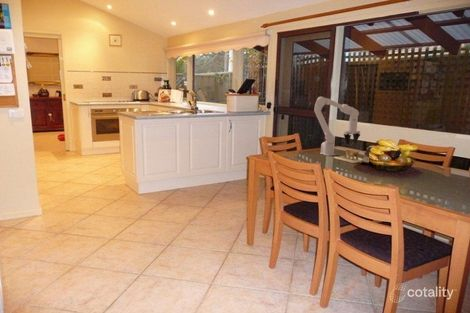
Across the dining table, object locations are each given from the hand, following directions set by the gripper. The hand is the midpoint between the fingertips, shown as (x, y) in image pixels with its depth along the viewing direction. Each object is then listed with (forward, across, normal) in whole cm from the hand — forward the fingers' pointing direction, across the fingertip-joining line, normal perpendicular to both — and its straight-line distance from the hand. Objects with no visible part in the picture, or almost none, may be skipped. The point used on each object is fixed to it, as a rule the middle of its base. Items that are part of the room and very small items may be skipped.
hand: (351, 143), depth 260 cm
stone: (+10, -8, -26) cm, 29 cm away
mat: (+9, -9, -9) cm, 16 cm away
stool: (+9, -9, -9) cm, 16 cm away
